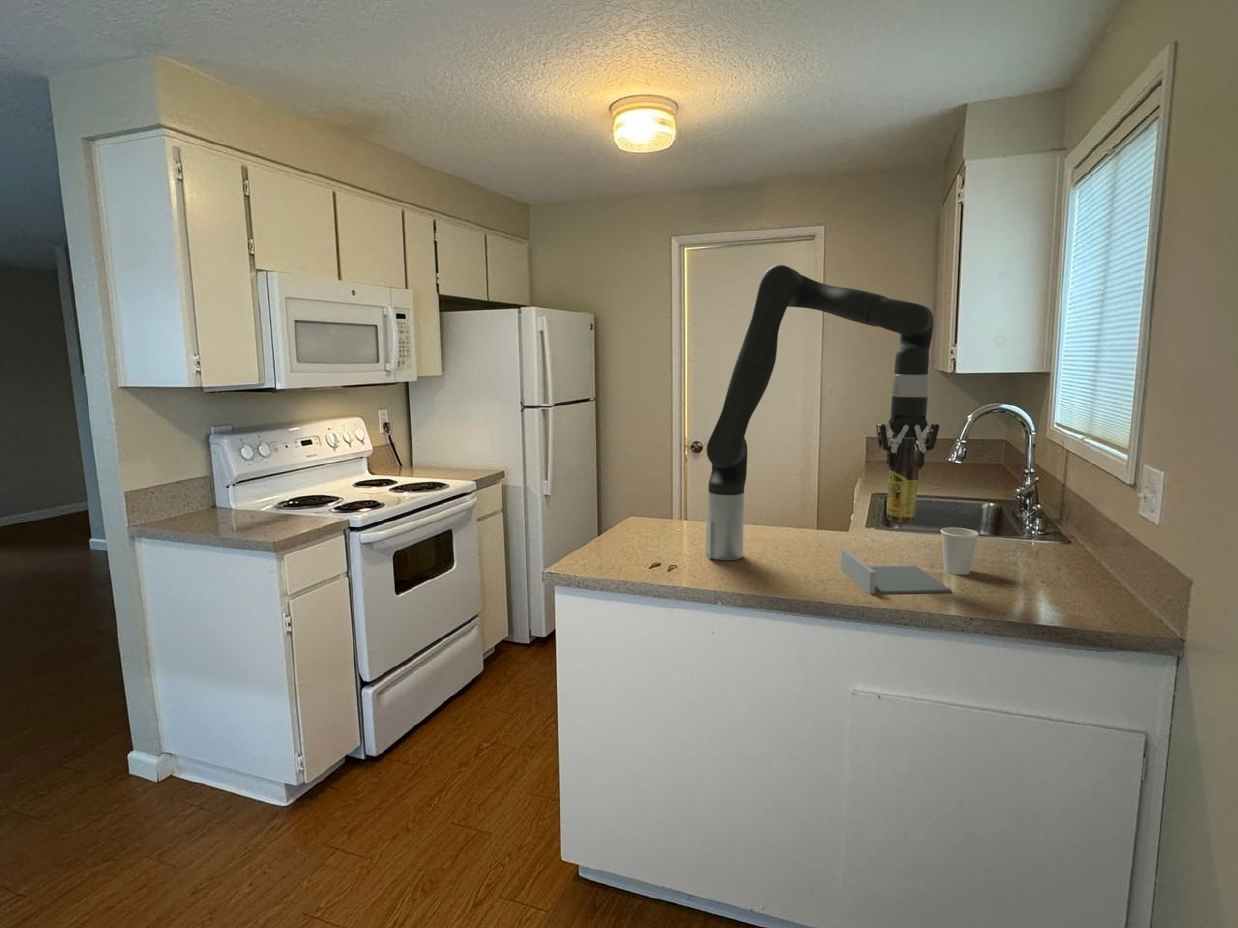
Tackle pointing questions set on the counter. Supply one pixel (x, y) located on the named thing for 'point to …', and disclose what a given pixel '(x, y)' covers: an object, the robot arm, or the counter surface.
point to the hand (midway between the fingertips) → (905, 468)
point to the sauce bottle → (903, 484)
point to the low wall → (858, 571)
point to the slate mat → (906, 580)
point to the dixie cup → (958, 549)
